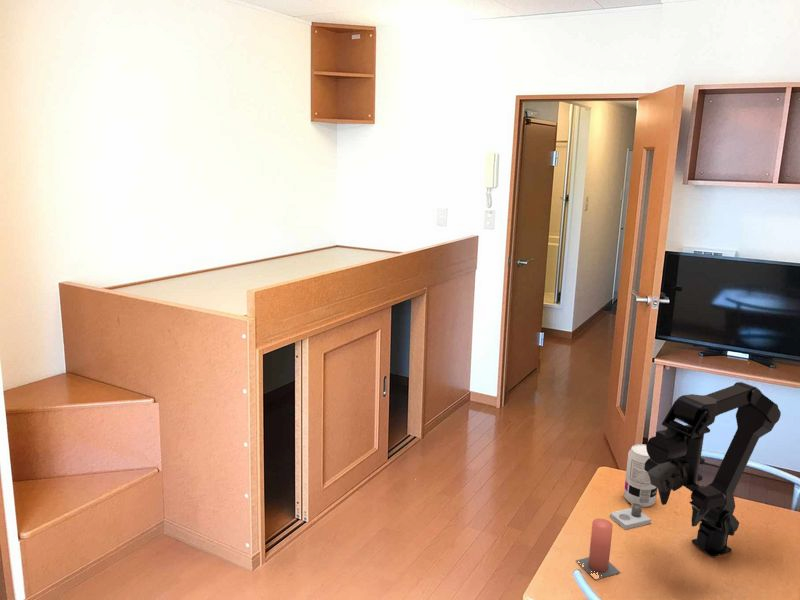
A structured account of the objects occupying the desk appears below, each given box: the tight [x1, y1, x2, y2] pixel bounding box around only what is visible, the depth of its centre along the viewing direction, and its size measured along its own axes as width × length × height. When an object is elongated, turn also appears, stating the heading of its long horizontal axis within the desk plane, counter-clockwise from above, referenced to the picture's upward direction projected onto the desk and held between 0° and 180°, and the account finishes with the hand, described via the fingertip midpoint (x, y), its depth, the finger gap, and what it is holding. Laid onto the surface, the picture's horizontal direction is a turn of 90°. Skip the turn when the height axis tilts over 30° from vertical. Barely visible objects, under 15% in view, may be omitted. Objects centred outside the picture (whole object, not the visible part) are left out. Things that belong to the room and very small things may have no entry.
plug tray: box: [609, 504, 652, 530], centre depth 166 cm, size 8×6×4 cm
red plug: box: [588, 518, 614, 573], centre depth 147 cm, size 4×4×11 cm
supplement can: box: [623, 443, 658, 508], centre depth 175 cm, size 8×8×15 cm
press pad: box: [575, 556, 621, 579], centre depth 148 cm, size 7×7×1 cm
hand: (678, 514), depth 146 cm, fingers open, 9 cm apart
